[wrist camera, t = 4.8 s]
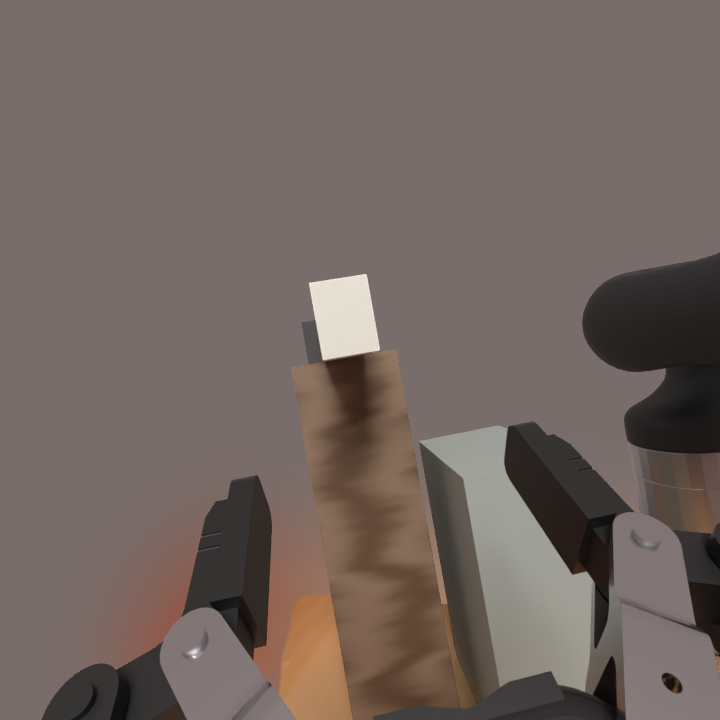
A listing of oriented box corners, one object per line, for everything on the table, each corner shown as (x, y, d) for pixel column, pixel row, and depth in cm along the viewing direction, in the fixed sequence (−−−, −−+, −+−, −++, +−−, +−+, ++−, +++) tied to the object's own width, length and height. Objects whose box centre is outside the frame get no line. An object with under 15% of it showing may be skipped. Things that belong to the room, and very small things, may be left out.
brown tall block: (424, 629, 41) (376, 353, 41) (464, 738, 29) (396, 349, 29) (351, 646, 40) (302, 366, 40) (361, 766, 28) (290, 367, 28)
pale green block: (535, 637, 37) (498, 425, 37) (633, 765, 25) (578, 454, 25) (457, 656, 37) (419, 441, 37) (519, 798, 25) (463, 478, 25)
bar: (367, 355, 41) (360, 318, 41) (408, 345, 20) (394, 269, 20) (311, 365, 40) (304, 327, 40) (293, 365, 19) (279, 287, 19)
